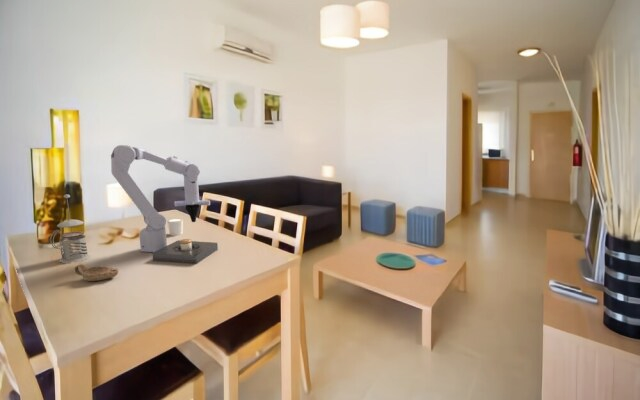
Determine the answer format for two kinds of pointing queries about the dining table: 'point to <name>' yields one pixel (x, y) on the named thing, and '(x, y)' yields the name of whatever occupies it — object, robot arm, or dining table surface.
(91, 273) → the oil lamp
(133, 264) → the dining table surface
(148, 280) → the dining table surface
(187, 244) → the plug
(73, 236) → the french press
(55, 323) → the dining table surface
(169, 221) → the cream tapered cylinder
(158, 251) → the dark grey slab
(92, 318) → the dining table surface
